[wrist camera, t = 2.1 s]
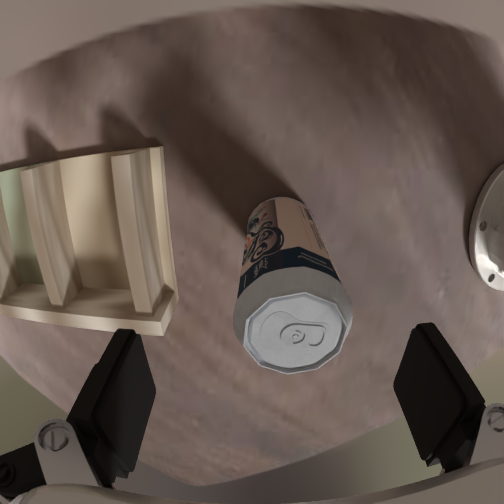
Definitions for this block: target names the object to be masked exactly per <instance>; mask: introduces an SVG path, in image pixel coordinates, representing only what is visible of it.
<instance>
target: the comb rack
mask: <svg viewBox="0 0 504 504" xmlns="http://www.w3.org/2000/svg"><path fill="white" fill-rule="evenodd" d="M178 300H179V296H178V289H177V282H176V274H175V267H174V259H173V250H172V242H171V233H170V223H169V213H168V203H167V191H166V179H165V165H164V149H163V146H160V147H149V148H139V149H129V150H120V151H112V152H104V153H97V154H90V155H83V156H77V157H71V158H65V159H59V160H53V161H48V162H43V163H38V164H33V165H28V166H23V167H18V168H14V169H9V170H5V171H1V172H0V315H4V316H9V317H15V318H20V319H26V320H32V321H38V322H44V323H50V324H57V325H64V326H71V327H79V328H86V329H95V330H103V331H113V332H116V330H117V329H118V328H122V329H133V330H135V332H136V334H145V335H157V336H164V333H165V331H166V328H167V326H168V324H169V321H170V319H171V317H172V314H173V312H174V310H175V307H176V305H177V303H178Z"/></svg>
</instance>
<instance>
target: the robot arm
mask: <svg viewBox="0 0 504 504" xmlns="http://www.w3.org/2000/svg"><path fill="white" fill-rule="evenodd" d="M469 253H470V258H471V263H472V265H473V268H474V270H475V272H476V274H477V275H478V277H479V278H480V279H481V280H482V281H483V282H484V283H485V284H486V285H487V286H489V287H491V288H492V289H494V290H499V291H504V163H503V164H502V165H500V166H499V167H498V168H497V169H496V170H495V171H494V172H493V173H492V174H491V176H490V177H489V179H488V180H487V182H486V183H485V185H484V186H483V188H482V190H481V193H480V195H479V197H478V199H477V202H476V205H475V208H474V211H473V215H472V219H471V224H470V232H469ZM393 385H394V391H395V393H396V396H397V398H398V401H399V403H400V406H401V408H402V411H403V413H404V416H405V418H406V421H407V423H408V425H409V428H410V431H411V433H412V436H413V439H414V441H415V444H416V447H417V449H418V452H419V455H420V457H421V459H422V460H425V461H426V464H427V467H429V466H432V465H435V464H438V463H441V465H442V470H441V472H440V475H439V476H436V477H433V478H429V479H426V480H422V481H419V482H415V483H412V484H408V485H405V486H400V487H396V488H392V489H388V490H384V491H379V492H374V493H369V494H363V495H358V496H352V497H346V498H339V499H332V500H323V501H315V502H304V503H290V504H504V405H503V404H499V403H495V404H491V405H489V406H487V407H486V406H485V405H484V403H485V400H484V398H483V397H482V395H481V394H480V392H479V390H478V388H477V387H476V385H475V384H474V382H473V381H472V379H471V378H470V376H469V374H468V373H467V371H466V370H465V368H464V367H463V365H462V363H461V362H460V360H459V359H458V357H457V356H456V354H455V353H454V352H453V350H452V349H451V347H450V346H449V344H448V343H447V341H446V340H445V338H444V337H443V336H442V334H441V333H440V331H439V330H438V329H437V327H436V326H435V324H434V323H431V322H430V323H422V324H417V326H416V327H415V328H414V329H412V331H411V334H410V337H409V340H408V343H407V346H406V349H405V352H404V355H403V358H402V361H401V364H400V366H399V369H398V372H397V374H396V377H395V380H394V384H393ZM155 395H156V388H155V384H154V381H153V378H152V374H151V371H150V368H149V364H148V361H147V357H146V354H145V350H144V346H143V343H142V339H141V336H140V334H136V332H135V330H133V329H122V328H118V329H117V330H116V332H115V333H114V335H113V337H112V339H111V341H110V342H109V344H108V346H107V348H106V350H105V351H104V353H103V355H102V357H101V359H100V361H99V362H98V363H97V364H95V366H94V367H93V369H92V370H91V372H90V374H89V376H88V378H87V380H86V382H85V384H84V385H83V387H82V389H81V391H80V393H79V395H78V397H77V399H76V401H75V403H74V405H73V407H72V409H71V411H70V413H69V415H68V417H67V419H66V421H65V420H62V419H51V420H48V421H46V422H44V423H42V424H41V425H40V426H39V427H38V429H37V430H36V432H35V435H34V442H33V443H31V444H29V445H26V446H24V447H21V448H19V449H16V450H14V451H11V452H9V453H6V454H4V455H1V456H0V504H217V503H203V502H192V501H183V500H174V499H166V498H160V497H153V496H146V495H140V494H135V493H129V492H125V491H119V490H116V488H115V486H114V484H113V483H114V482H115V478H116V476H117V477H121V478H128V474H129V472H133V470H134V468H135V465H136V461H137V458H138V454H139V451H140V447H141V443H142V440H143V436H144V433H145V429H146V426H147V423H148V419H149V416H150V412H151V409H152V406H153V402H154V399H155Z"/></svg>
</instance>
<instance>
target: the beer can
mask: <svg viewBox="0 0 504 504" xmlns="http://www.w3.org/2000/svg"><path fill="white" fill-rule="evenodd" d="M352 318H353V308H352V302H351V299H350V297H349V295H348V293H347V292H346V290H345V288H344V287H343V285H342V282H341V280H340V278H339V275H338V273H337V271H336V268H335V266H334V264H333V261H332V259H331V257H330V255H329V252H328V250H327V248H326V246H325V243H324V241H323V239H322V237H321V235H320V232H319V230H318V228H317V226H316V223H315V220H314V217H313V215H312V214H311V212H310V210H309V209H308V208H307V207H306V206H305V205H304V204H302V203H301V202H300V201H297V200H295V199H293V198H288V197H276V198H271V199H268V200H266V201H264V202H262V203H261V204H259V205H258V206H257V207H256V208H255V209H254V210H253V212H252V214H251V215H250V217H249V220H248V225H247V236H246V243H245V250H244V256H243V263H242V270H241V277H240V284H239V291H238V297H237V302H236V305H235V309H234V314H233V327H234V330H235V333H236V336H237V338H238V340H239V341H240V342H241V344H242V345H243V346H244V347H245V349H246V350H247V351H248V353H249V354H250V355H251V356H252V357H253V359H254V360H255V361H256V362H257V363H258V365H259V366H261V367H264V368H268V369H271V370H274V371H277V372H281V373H284V374H293V373H299V372H305V371H311V370H316V369H318V368H320V367H321V366H322V365H324V364H325V363H326V362H328V361H329V360H330V359H332V358H333V357H334V356H336V355H337V354H338V353H340V351H341V348H342V345H343V343H344V341H345V338H346V336H347V334H348V332H349V330H350V328H351V323H352Z"/></svg>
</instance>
